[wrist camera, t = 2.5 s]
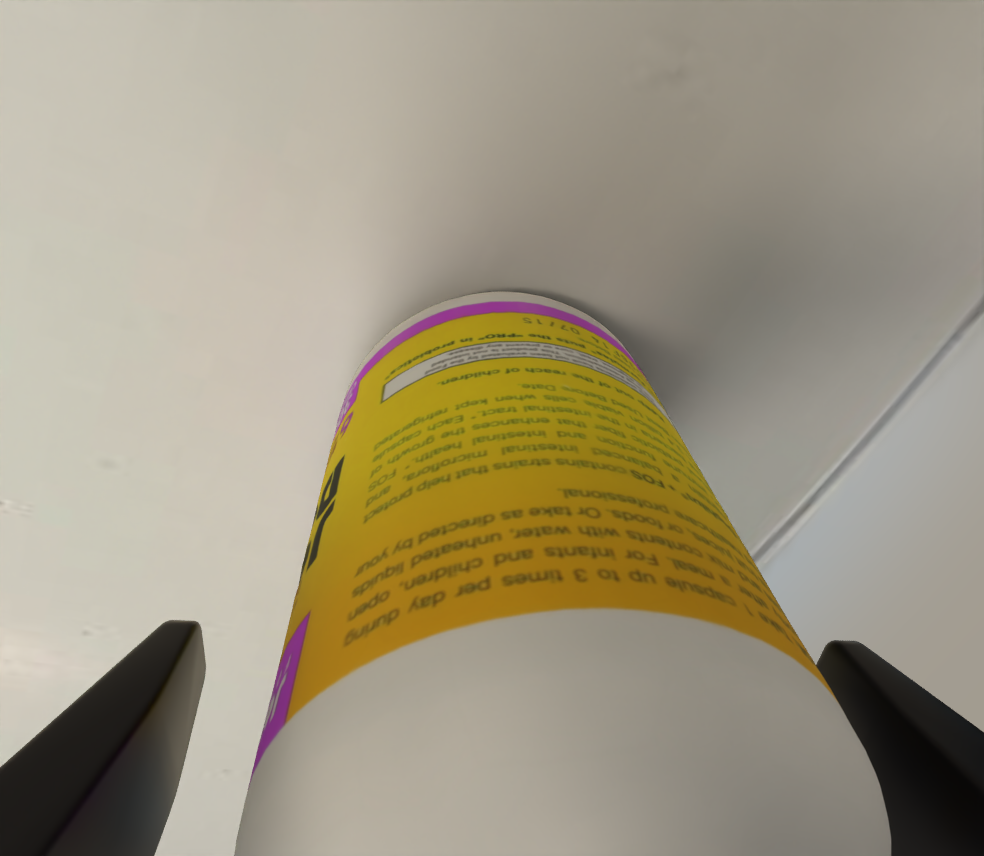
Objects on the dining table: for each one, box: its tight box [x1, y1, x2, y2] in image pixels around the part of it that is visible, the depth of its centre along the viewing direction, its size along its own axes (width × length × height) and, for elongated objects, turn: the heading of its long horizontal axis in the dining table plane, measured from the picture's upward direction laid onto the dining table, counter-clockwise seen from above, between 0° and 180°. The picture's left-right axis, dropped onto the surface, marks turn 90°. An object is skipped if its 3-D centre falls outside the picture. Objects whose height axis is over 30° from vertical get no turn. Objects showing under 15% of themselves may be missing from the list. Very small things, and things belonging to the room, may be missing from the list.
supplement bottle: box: [234, 292, 891, 856], centre depth 10 cm, size 7×7×13 cm
